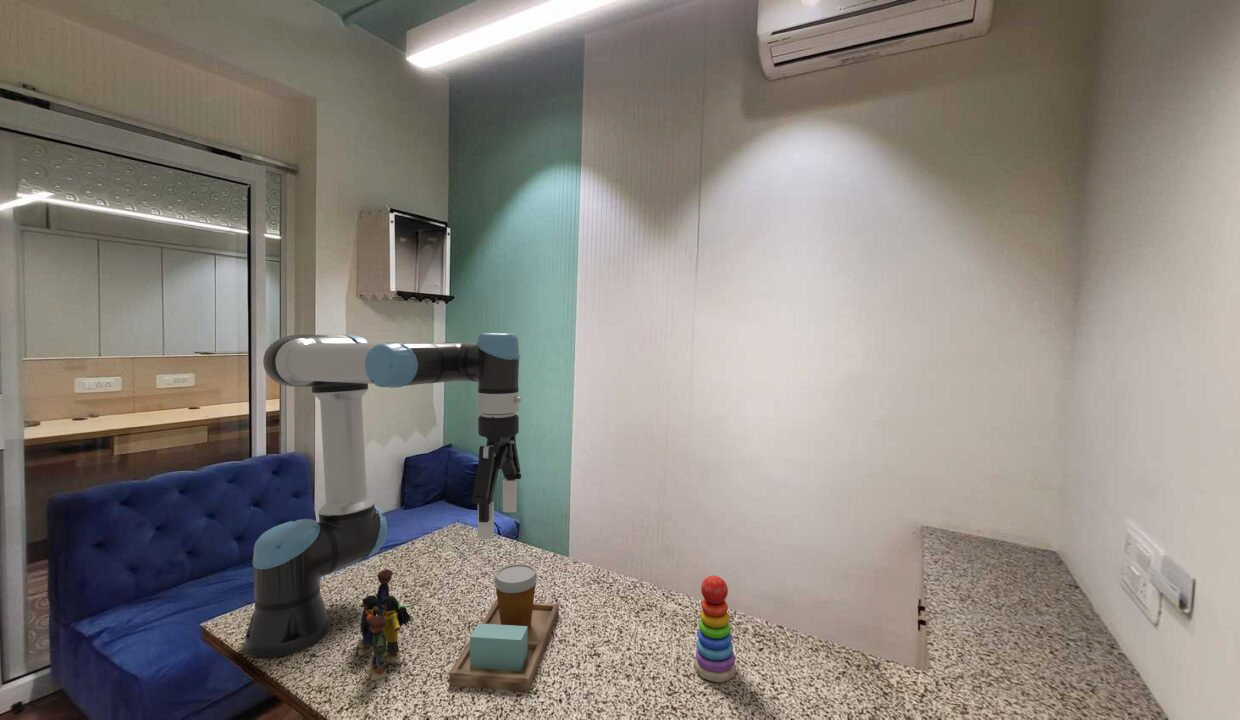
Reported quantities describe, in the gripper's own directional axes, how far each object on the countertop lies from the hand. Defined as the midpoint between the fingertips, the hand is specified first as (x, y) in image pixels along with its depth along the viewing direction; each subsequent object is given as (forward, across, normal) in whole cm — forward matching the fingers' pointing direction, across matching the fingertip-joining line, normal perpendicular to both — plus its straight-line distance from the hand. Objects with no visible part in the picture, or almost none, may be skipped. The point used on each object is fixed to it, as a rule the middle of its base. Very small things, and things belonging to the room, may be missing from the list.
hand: (498, 524), depth 96 cm
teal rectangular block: (+27, 0, 0) cm, 27 cm away
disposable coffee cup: (+27, +12, 0) cm, 30 cm away
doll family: (+29, +4, +26) cm, 39 cm away
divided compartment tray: (+29, +7, 0) cm, 30 cm away
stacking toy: (+29, +4, -42) cm, 51 cm away
